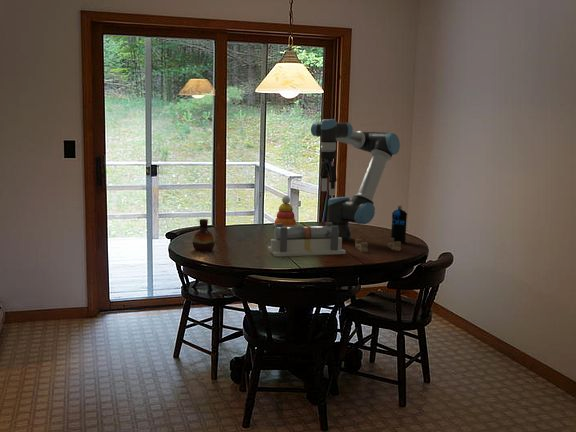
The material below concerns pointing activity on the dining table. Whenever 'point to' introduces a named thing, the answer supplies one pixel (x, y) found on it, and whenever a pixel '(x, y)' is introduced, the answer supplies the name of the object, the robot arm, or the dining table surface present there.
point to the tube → (305, 232)
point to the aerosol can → (399, 225)
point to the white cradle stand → (306, 244)
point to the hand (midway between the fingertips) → (328, 193)
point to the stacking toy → (285, 214)
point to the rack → (390, 244)
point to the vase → (203, 238)
